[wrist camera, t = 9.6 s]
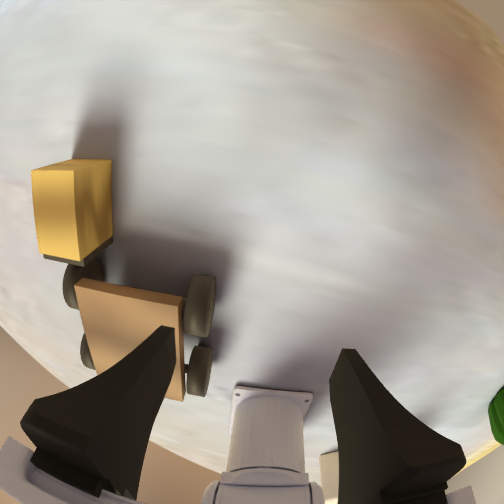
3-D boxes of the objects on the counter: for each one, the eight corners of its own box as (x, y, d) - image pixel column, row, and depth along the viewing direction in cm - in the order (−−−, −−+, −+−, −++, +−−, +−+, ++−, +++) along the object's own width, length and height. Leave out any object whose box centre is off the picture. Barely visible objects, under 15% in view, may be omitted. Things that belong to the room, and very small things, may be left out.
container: (331, 471, 36) (336, 540, 24) (318, 455, 33) (322, 535, 21) (378, 458, 34) (391, 527, 22) (372, 439, 31) (387, 520, 19)
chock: (113, 241, 22) (81, 269, 17) (75, 236, 22) (40, 260, 18) (112, 159, 19) (73, 170, 15) (72, 159, 19) (31, 170, 15)
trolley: (211, 371, 27) (202, 410, 22) (105, 348, 27) (85, 379, 22) (217, 266, 22) (204, 301, 18) (87, 247, 22) (55, 272, 18)
